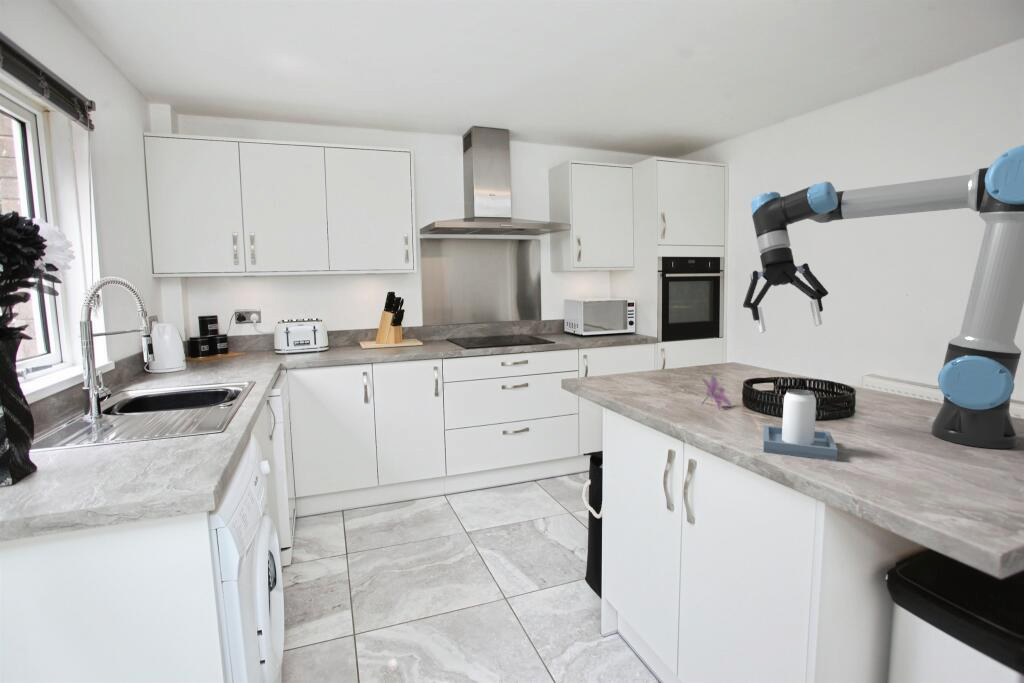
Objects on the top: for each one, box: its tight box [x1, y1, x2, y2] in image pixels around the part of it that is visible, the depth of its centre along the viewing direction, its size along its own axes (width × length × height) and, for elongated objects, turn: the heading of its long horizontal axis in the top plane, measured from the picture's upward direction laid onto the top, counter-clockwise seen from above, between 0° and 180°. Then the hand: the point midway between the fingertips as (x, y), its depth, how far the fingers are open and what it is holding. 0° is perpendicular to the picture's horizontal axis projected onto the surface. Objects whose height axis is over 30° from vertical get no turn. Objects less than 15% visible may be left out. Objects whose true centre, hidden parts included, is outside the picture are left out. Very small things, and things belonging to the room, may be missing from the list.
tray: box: [763, 424, 838, 462], centre depth 117 cm, size 14×14×2 cm
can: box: [781, 388, 817, 445], centre depth 117 cm, size 6×6×12 cm
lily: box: [701, 372, 733, 411], centre depth 155 cm, size 12×12×10 cm
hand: (790, 328), depth 132 cm, fingers open, 13 cm apart
